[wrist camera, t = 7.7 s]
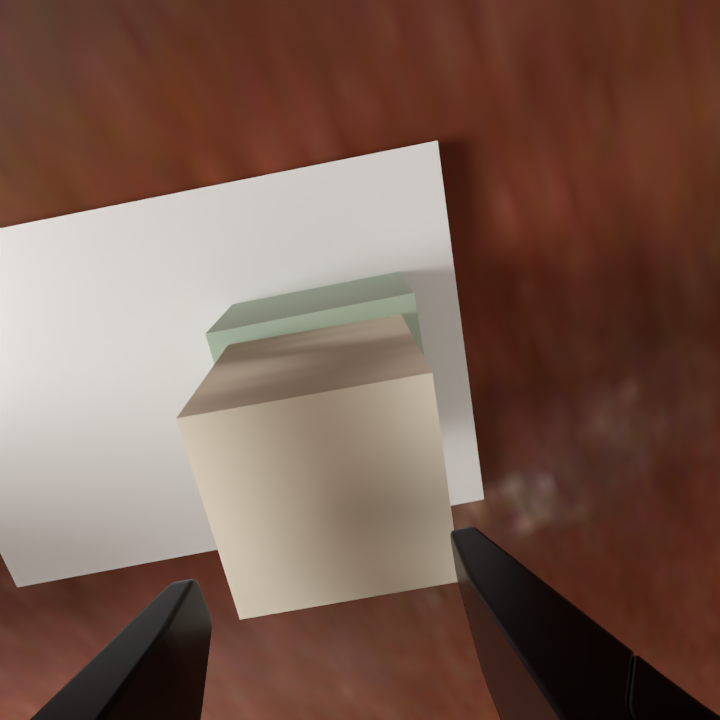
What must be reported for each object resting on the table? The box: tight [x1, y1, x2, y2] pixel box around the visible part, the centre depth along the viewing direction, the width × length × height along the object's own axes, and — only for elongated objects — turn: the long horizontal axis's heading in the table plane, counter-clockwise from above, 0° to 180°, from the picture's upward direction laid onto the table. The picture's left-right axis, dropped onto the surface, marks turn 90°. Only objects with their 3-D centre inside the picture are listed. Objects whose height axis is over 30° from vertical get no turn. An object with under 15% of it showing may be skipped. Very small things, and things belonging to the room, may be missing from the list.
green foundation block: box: [206, 272, 424, 364], centre depth 17 cm, size 6×6×4 cm
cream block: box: [176, 314, 458, 620], centre depth 13 cm, size 5×5×5 cm
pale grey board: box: [0, 141, 484, 587], centre depth 20 cm, size 20×14×1 cm
